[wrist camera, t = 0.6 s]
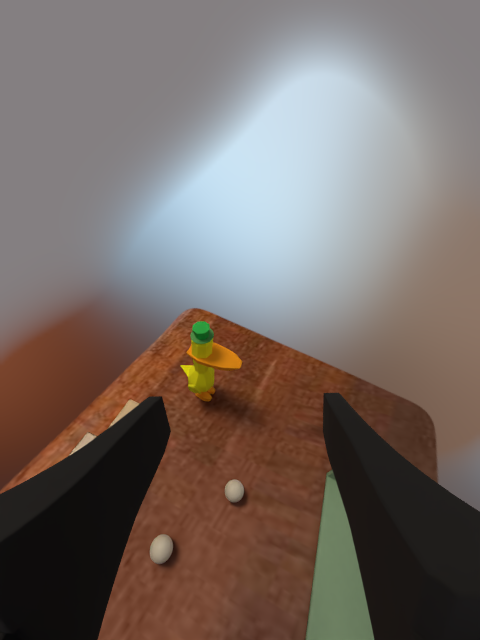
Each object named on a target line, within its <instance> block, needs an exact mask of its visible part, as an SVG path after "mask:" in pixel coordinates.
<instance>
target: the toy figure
mask: <svg viewBox="0 0 480 640" xmlns="http://www.w3.org/2000/svg"><path fill="white" fill-rule="evenodd" d="M213 336H214V333H213V331H212V330H211V329H210V328H209V324H208V323H206V322H205V321H204V322H197V323H195V324H194V325H193V331H192V333H191V339H192V345H191V346H190V348H189V349H188V351H187V354H188V355H189V356H190V357H191V358H192V359H193V364H194V365H193V366H191V365H180V366H181V367H182V369H183V370H184V372H185V373H186V374H187V376H188V387H189V390H190V391H192V392H194V393H196V394H195V396H197V397H198V398H200V399H201V400H203V401H211V399H212V396H211V395H210V394H214V393H215V389H214V388H213V387H212V386H213V385H214V369H213V368H215V369H219V370H226V371H231V370H235V369H239V368H240V367H241V364H242V361H241V360H240V358H239V357H238V356H237V355H236V354H235V353H233V352H232V351H231V350H229V349H227V348H225V347H223V346H220V345H218V344H216V343H213Z"/></svg>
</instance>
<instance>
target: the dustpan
mask: <svg viewBox="0 0 480 640" xmlns="http://www.w3.org/2000/svg"><path fill="white" fill-rule="evenodd" d="M305 640H374V635H373V630H372V626H371V621H370V616H369V611H368V606H367V601H366V597H365V592H364V587H363V583H362V578H361V574H360V569H359V564H358V560H357V556H356V551H355V547H354V542H353V538H352V534H351V529H350V525H349V522H348V518H347V514H346V511H345V508H344V505H343V502H342V499H341V495H340V492H339V489H338V486H337V483H336V480H335V476H334V473H333V470H331V471H329V472H328V473H327V476H326V483H325V491H324V499H323V507H322V515H321V522H320V530H319V538H318V546H317V553H316V561H315V569H314V577H313V584H312V592H311V600H310V608H309V615H308V623H307V631H306V639H305Z"/></svg>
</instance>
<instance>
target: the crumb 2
mask: <svg viewBox="0 0 480 640" xmlns="http://www.w3.org/2000/svg"><path fill="white" fill-rule="evenodd" d="M243 494H244V488H243V485H242V483H241V482H240V481H238V480H231V481H229V482H228V483H227V485H226V487H225V495H226V497H227V499H228V500H229V501H231V502H238V501H239V500H241V498H242V497H243Z"/></svg>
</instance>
